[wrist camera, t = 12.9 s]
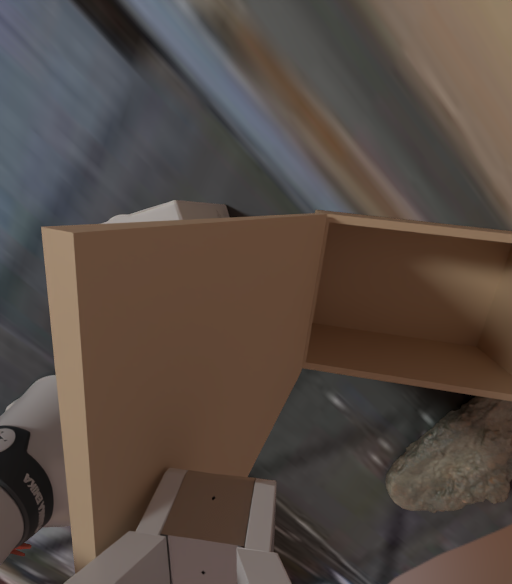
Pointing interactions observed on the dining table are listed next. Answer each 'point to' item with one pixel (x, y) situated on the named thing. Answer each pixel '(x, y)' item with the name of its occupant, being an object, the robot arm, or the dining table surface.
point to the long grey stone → (457, 460)
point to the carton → (414, 304)
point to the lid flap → (171, 352)
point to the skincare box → (175, 212)
